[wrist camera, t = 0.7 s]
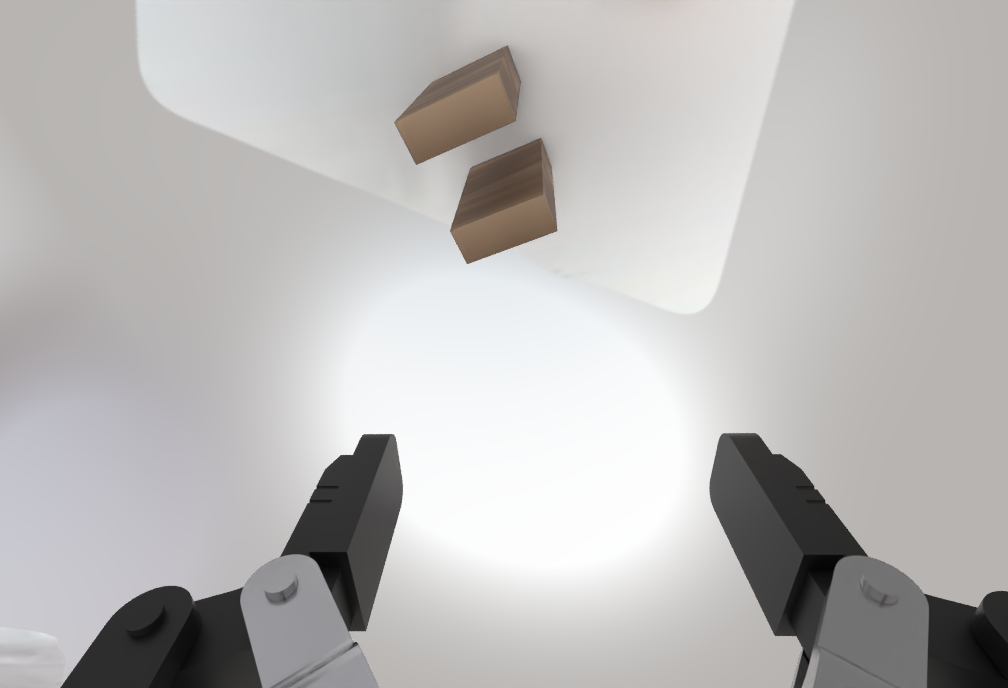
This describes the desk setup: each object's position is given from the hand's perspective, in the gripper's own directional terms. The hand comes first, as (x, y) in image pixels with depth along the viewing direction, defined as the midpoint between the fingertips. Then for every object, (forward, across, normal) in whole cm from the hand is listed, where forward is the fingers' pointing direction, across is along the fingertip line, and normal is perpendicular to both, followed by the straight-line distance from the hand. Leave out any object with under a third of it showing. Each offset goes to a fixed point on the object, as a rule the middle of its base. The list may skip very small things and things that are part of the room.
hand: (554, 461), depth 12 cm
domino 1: (+24, +3, -9) cm, 26 cm away
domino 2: (+25, +1, -4) cm, 25 cm away
